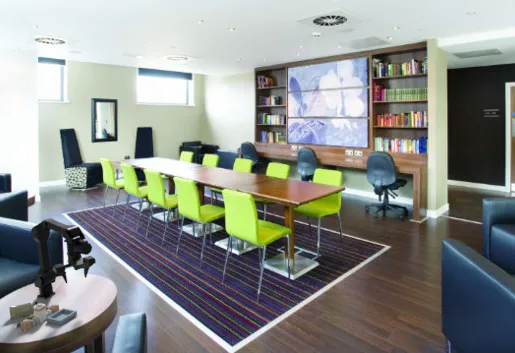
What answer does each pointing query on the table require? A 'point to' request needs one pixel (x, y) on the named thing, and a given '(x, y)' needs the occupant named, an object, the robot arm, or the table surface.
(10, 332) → the table surface
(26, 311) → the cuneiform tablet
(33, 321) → the fuse block
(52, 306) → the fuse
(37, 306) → the marked fuse
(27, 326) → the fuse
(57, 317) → the tray
